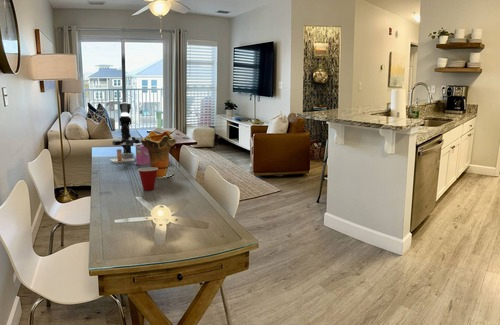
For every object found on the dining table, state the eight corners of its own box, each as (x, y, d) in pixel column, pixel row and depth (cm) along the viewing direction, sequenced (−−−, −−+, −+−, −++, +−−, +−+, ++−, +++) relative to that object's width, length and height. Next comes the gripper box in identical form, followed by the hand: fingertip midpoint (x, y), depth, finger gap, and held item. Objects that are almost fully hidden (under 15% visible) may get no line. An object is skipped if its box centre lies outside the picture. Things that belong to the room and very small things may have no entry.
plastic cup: (156, 185, 225) (156, 165, 223) (160, 190, 216) (159, 169, 213) (137, 187, 221) (136, 166, 219) (140, 192, 211) (139, 171, 209)
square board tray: (108, 160, 292) (107, 155, 291) (129, 157, 302) (129, 152, 301) (115, 163, 280) (115, 158, 279) (137, 161, 290) (137, 156, 289)
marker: (116, 160, 287) (115, 149, 285) (121, 159, 289) (120, 149, 287) (118, 161, 284) (117, 150, 282) (122, 160, 286) (122, 149, 284)
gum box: (164, 159, 297) (164, 141, 295) (171, 161, 292) (170, 142, 289) (136, 163, 281) (135, 144, 278) (141, 165, 275) (141, 146, 273)
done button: (123, 157, 298) (123, 153, 297) (128, 156, 300) (128, 152, 299) (125, 158, 295) (125, 154, 294) (130, 157, 297) (130, 153, 296)
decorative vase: (142, 180, 234) (141, 133, 230) (142, 173, 256) (140, 130, 252) (178, 179, 240) (177, 132, 235) (175, 172, 262) (174, 129, 257)
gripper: (117, 135, 281) (118, 156, 285) (142, 133, 293) (143, 153, 296) (111, 133, 290) (112, 154, 293) (136, 131, 301) (136, 151, 305)
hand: (126, 153), depth 297 cm, fingers closed, pressing on done button
